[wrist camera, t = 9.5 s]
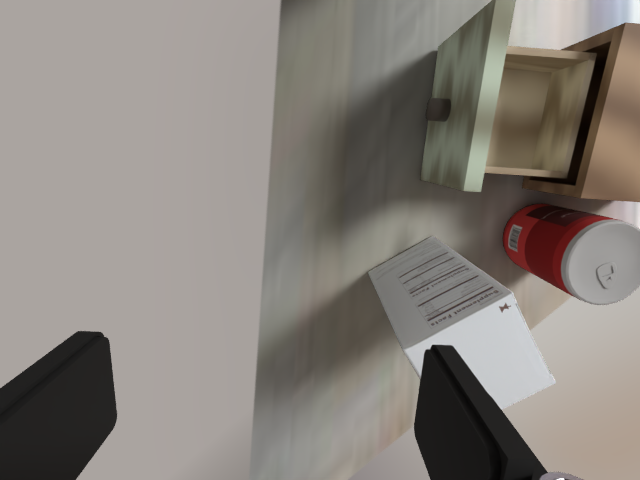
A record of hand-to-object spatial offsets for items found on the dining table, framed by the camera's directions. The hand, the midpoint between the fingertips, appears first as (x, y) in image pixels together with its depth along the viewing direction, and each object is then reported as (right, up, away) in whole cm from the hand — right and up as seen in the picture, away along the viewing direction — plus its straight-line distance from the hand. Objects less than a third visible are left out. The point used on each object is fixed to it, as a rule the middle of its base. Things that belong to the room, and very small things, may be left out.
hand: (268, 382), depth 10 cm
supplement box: (+14, -1, +32) cm, 35 cm away
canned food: (+27, +5, +31) cm, 41 cm away
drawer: (+18, +17, +27) cm, 37 cm away
